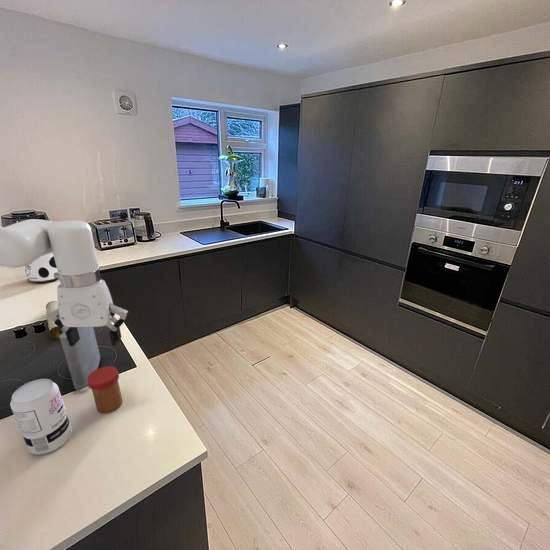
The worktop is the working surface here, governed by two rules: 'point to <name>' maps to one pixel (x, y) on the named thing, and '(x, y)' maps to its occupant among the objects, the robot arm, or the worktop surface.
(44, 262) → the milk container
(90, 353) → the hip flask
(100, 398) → the jam jar
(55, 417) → the supplement can
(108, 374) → the jam lid
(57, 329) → the rolling pin
